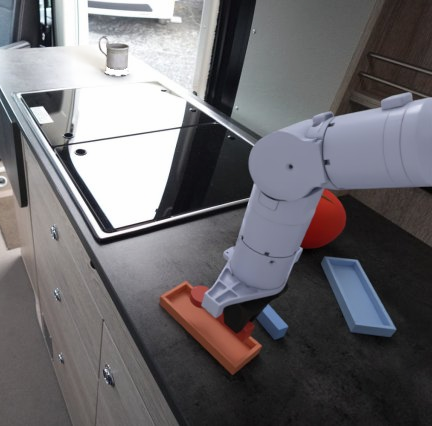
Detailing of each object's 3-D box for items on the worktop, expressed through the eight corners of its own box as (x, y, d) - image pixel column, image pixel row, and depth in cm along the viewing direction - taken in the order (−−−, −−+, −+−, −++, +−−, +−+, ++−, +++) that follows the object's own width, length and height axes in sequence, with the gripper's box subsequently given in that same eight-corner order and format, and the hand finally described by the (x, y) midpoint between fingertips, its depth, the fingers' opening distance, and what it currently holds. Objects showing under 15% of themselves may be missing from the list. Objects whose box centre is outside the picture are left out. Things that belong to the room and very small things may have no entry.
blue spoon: (287, 335, 51) (293, 325, 49) (270, 341, 50) (274, 331, 48) (246, 287, 57) (249, 277, 56) (230, 292, 56) (233, 282, 55)
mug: (134, 72, 144) (136, 39, 137) (117, 78, 139) (119, 43, 131) (107, 65, 152) (107, 32, 145) (90, 69, 146) (89, 36, 139)
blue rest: (390, 337, 51) (396, 329, 50) (350, 332, 51) (355, 324, 50) (353, 267, 62) (357, 259, 60) (320, 263, 62) (324, 256, 61)
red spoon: (254, 333, 46) (258, 322, 45) (238, 345, 45) (242, 334, 43) (200, 287, 52) (203, 277, 50) (184, 297, 50) (187, 286, 49)
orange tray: (258, 353, 48) (262, 345, 47) (232, 375, 46) (235, 367, 45) (184, 288, 57) (186, 280, 56) (158, 303, 54) (160, 296, 53)
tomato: (276, 210, 74) (293, 163, 67) (341, 240, 67) (366, 191, 61) (248, 235, 67) (263, 186, 61) (316, 271, 61) (341, 220, 54)
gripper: (276, 196, 43) (248, 277, 52) (189, 243, 36) (171, 328, 45) (335, 228, 39) (293, 311, 47) (248, 288, 32) (217, 374, 40)
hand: (237, 322), depth 46 cm, fingers closed on red spoon, 1 cm apart
